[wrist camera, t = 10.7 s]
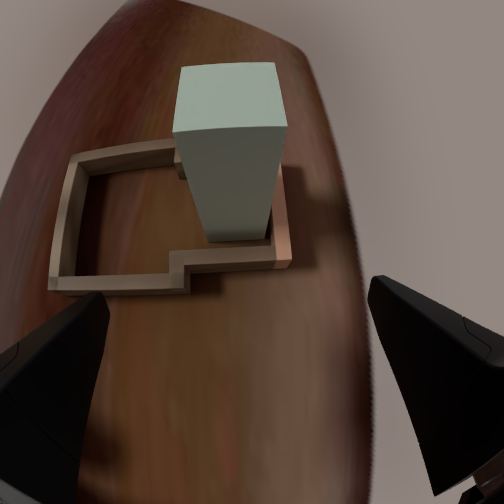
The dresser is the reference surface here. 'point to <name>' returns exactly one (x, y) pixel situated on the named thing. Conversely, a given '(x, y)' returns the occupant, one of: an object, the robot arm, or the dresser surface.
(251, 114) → the pale green square pillar
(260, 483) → the dresser surface
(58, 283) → the keyhole track
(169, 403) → the dresser surface
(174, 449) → the dresser surface
